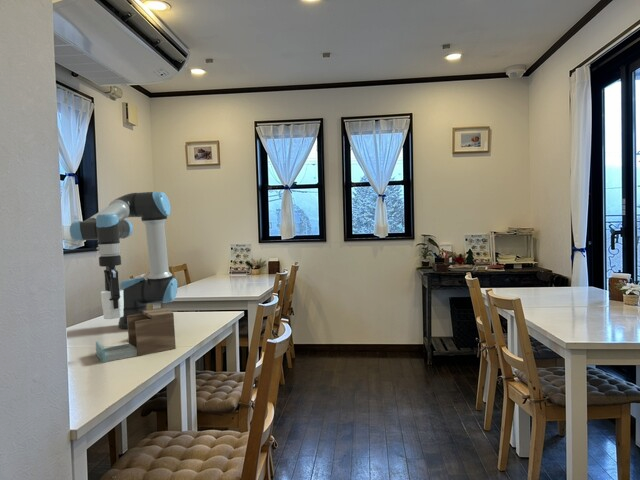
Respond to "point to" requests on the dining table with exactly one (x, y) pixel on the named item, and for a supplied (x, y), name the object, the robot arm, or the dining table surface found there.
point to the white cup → (107, 304)
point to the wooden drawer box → (152, 331)
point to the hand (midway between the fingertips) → (113, 315)
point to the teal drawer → (115, 352)
